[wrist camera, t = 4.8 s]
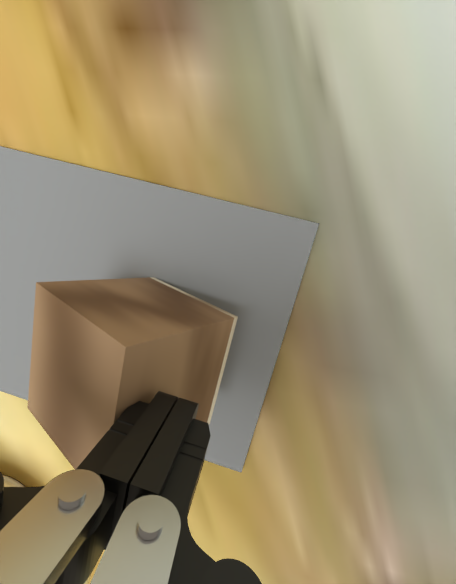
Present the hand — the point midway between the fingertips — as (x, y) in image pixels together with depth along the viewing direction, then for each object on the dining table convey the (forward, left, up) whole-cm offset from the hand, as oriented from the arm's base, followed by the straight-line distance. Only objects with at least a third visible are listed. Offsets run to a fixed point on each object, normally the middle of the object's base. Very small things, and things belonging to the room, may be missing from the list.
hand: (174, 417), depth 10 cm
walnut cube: (+2, 0, -5) cm, 6 cm away
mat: (+7, 0, -7) cm, 10 cm away
